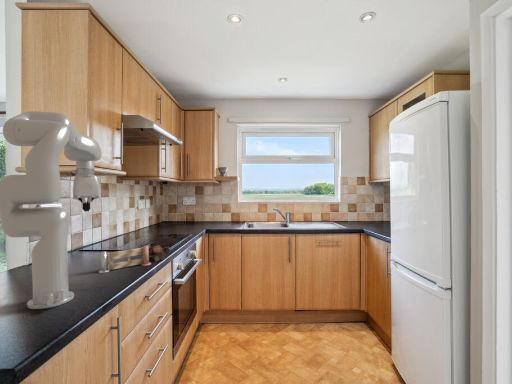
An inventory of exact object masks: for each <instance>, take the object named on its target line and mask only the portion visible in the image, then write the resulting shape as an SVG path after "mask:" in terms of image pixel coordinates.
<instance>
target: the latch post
mask: <svg viewBox="0 0 512 384" xmlns="http://www.w3.org/2000/svg"><path fill="white" fill-rule="evenodd" d="M142 248H143V254H142V258H143V261H144V263H143V264H140V265H141V266H142V267H143V266H144V267H146V266H150V265H152V263H151V262H150V258H149V250H148V249H149V245H143V247H142Z"/></svg>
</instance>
